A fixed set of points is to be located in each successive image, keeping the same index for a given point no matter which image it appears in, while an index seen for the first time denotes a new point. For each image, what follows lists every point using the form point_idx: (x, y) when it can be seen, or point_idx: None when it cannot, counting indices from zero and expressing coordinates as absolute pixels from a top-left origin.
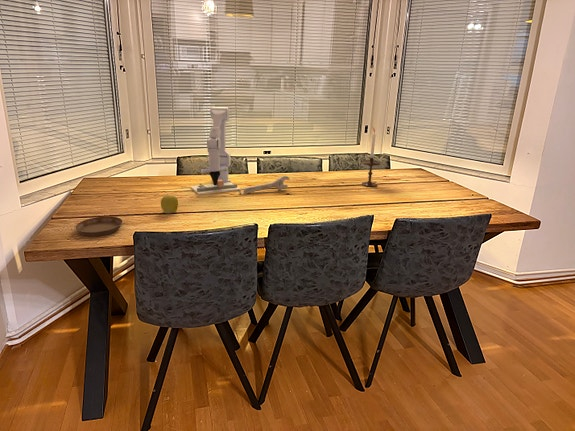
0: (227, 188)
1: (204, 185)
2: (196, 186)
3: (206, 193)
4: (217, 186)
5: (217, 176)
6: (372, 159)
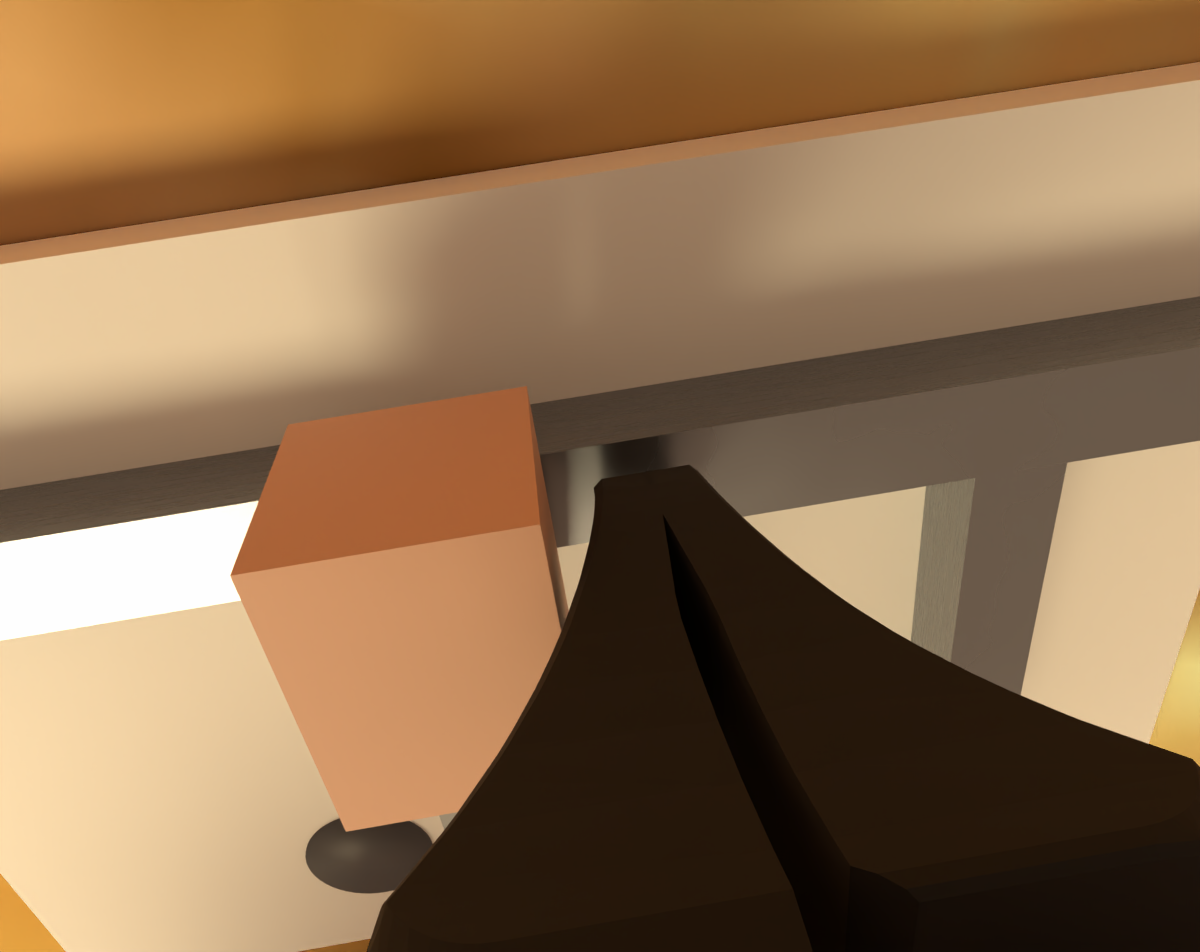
0: (157, 457)
1: None
2: None
3: (1033, 95)
4: None
5: (617, 756)
6: None
